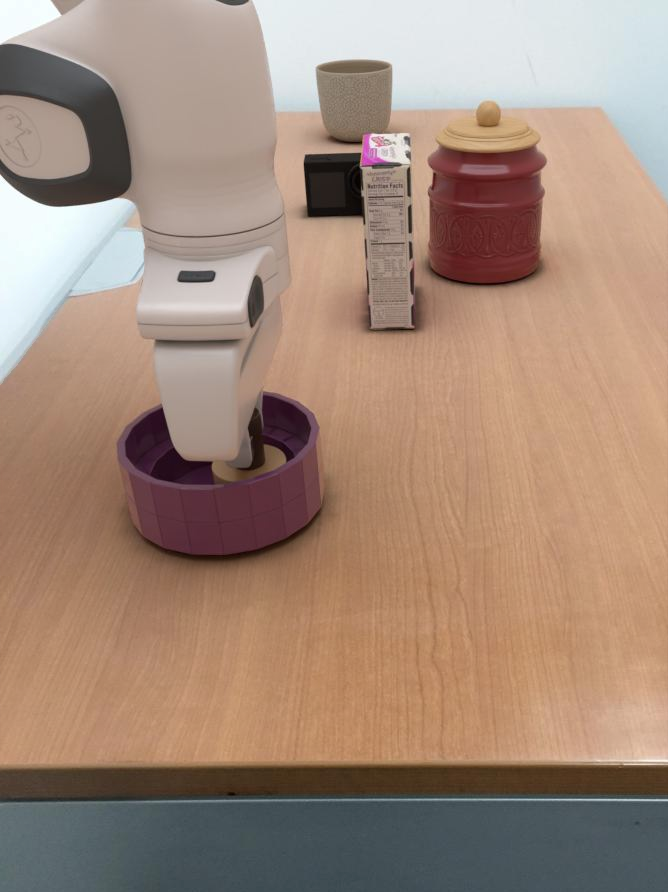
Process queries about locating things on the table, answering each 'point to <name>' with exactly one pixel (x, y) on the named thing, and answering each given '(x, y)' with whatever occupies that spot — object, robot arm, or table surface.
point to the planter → (355, 97)
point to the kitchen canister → (486, 198)
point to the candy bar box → (388, 230)
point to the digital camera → (333, 184)
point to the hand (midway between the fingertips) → (245, 449)
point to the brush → (262, 461)
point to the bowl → (222, 485)
